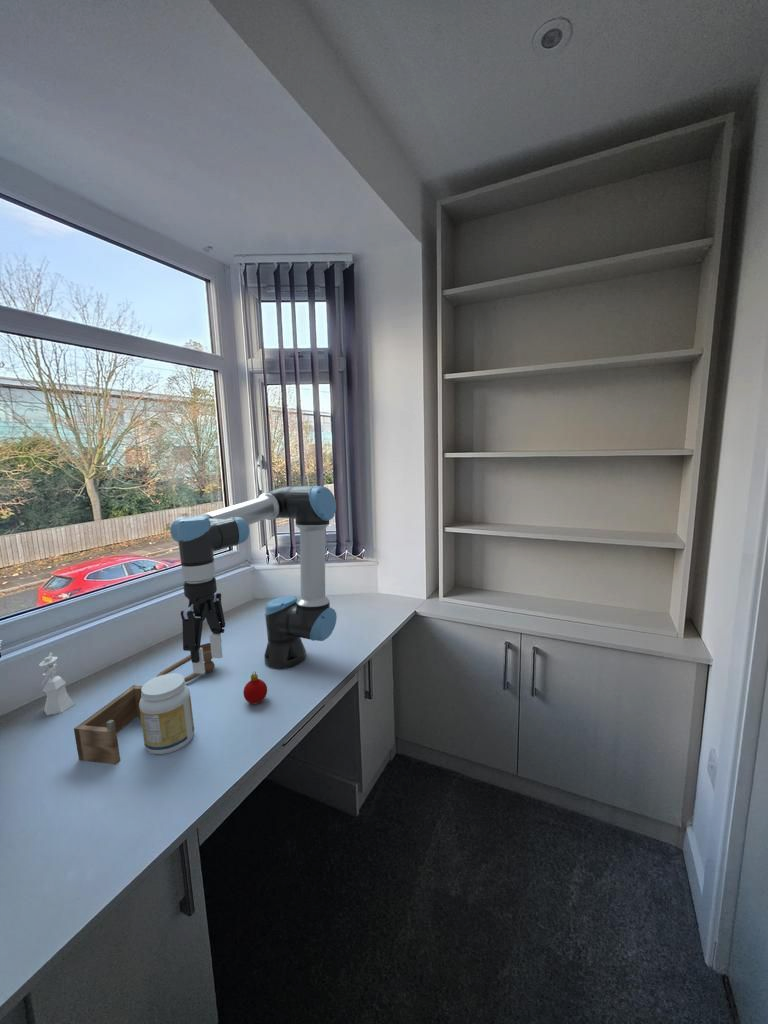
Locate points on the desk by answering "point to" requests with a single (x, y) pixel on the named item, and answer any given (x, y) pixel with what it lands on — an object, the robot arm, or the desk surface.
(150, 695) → the supplement tub
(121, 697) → the walnut holder
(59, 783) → the desk surface
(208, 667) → the brown curved horn
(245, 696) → the christmas ornament
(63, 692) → the figurine
